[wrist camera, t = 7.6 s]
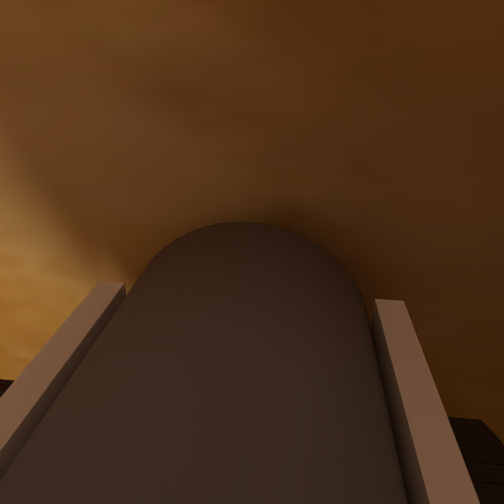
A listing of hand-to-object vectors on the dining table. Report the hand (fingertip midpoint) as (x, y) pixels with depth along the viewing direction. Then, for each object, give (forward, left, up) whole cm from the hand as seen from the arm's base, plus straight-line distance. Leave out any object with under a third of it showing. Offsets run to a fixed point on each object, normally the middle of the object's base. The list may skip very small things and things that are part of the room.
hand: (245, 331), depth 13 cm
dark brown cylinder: (0, 0, 0) cm, 0 cm away
